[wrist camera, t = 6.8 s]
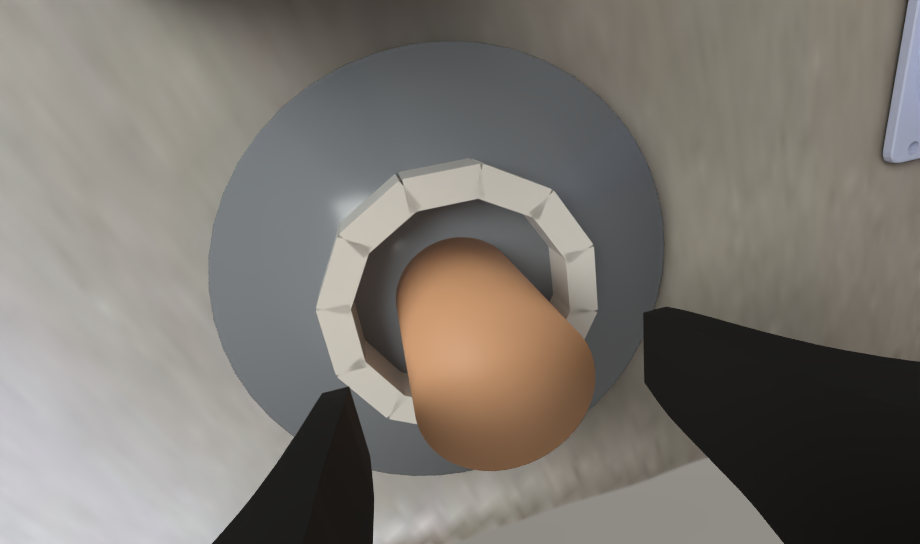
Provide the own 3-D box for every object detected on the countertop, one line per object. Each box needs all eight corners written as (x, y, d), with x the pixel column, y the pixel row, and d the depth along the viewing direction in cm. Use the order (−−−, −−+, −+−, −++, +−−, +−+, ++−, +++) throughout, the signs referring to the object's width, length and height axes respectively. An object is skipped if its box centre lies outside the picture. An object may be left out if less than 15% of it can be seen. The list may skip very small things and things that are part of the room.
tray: (649, 7, 15) (696, -8, 13) (653, 405, 21) (686, 438, 19) (132, 92, 13) (88, 89, 11) (296, 506, 19) (288, 556, 17)
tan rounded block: (526, 240, 16) (612, 309, 11) (509, 352, 18) (577, 465, 12) (399, 233, 15) (421, 306, 10) (392, 352, 17) (407, 476, 11)
